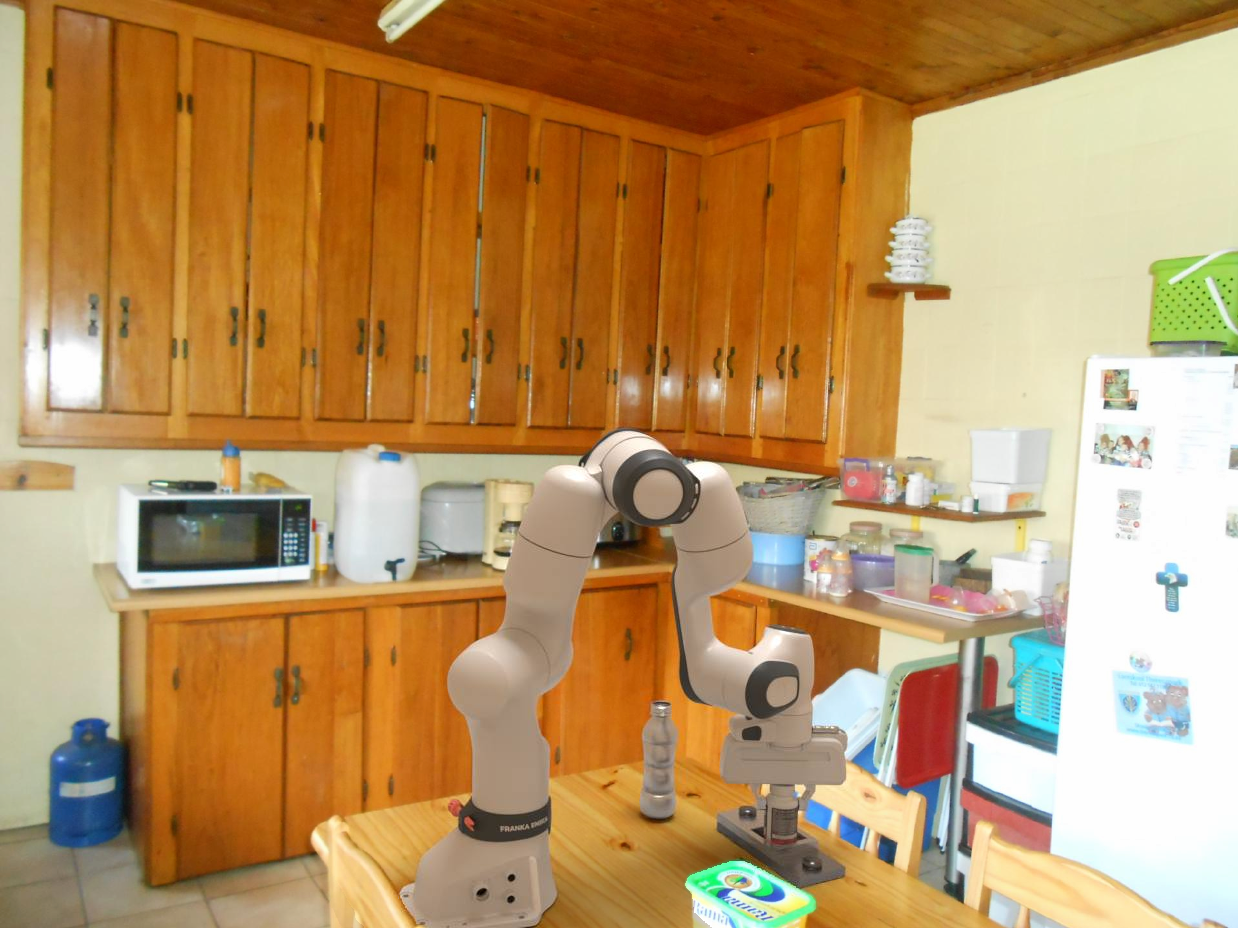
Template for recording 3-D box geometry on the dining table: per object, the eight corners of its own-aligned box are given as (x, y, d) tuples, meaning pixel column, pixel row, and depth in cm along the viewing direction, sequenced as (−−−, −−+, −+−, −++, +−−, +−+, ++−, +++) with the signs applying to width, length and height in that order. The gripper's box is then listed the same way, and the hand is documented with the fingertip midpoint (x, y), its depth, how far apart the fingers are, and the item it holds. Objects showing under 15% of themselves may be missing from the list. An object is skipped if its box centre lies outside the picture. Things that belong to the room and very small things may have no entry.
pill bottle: (803, 843, 152) (806, 784, 151) (782, 852, 148) (784, 791, 148) (777, 832, 156) (780, 774, 155) (756, 840, 152) (758, 781, 152)
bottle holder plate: (799, 888, 141) (800, 863, 140) (716, 829, 160) (717, 807, 160) (845, 876, 145) (846, 852, 145) (759, 820, 164) (760, 799, 164)
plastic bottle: (682, 813, 166) (686, 702, 165) (663, 827, 160) (668, 712, 159) (651, 804, 169) (655, 695, 169) (631, 817, 164) (635, 704, 163)
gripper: (842, 719, 155) (839, 802, 155) (719, 717, 154) (716, 800, 155) (853, 732, 148) (850, 818, 149) (725, 730, 148) (722, 816, 148)
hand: (781, 809), depth 152 cm, fingers closed on pill bottle, 5 cm apart
